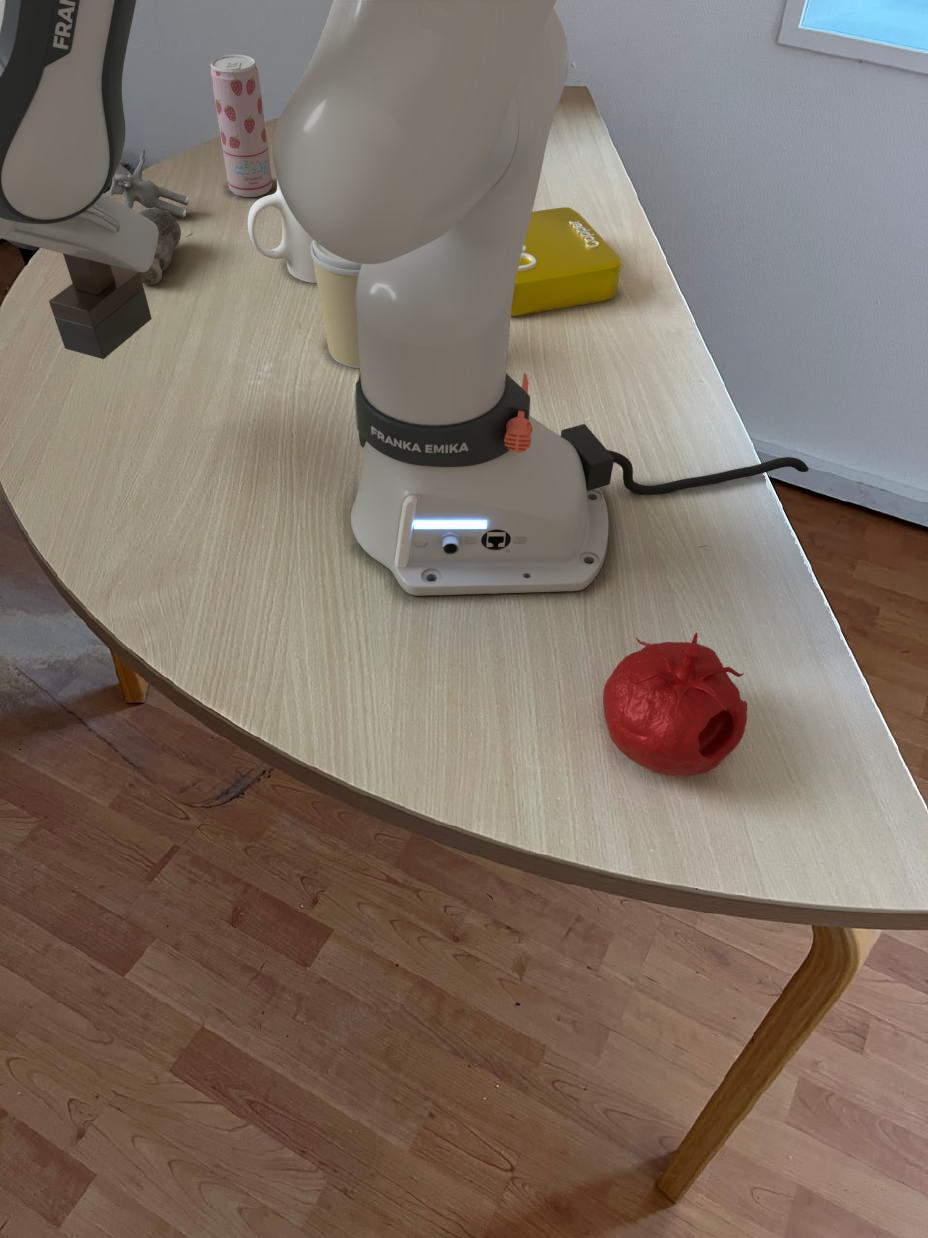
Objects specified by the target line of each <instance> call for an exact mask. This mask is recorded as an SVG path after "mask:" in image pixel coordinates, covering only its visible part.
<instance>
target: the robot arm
mask: <svg viewBox="0 0 928 1238" xmlns="http://www.w3.org/2000/svg"><path fill="white" fill-rule="evenodd" d="M556 2H557V0H332V4H331V7H330V9H329V12H328V15H327V18H326V21H325V24H324V27H323V30H322V32H321V35H320V38H319V40H318V43H317V46H316V47H315V50H314V53H313V55H312V57H311V59H310V61H309V63H308V65H307V67H306V69H305V72H304V74H303V75H302V77H301V78H300V81H299V83H298V84H297V85H296V87H295V89H294V91H293V93H292V95H291V96H290V98H289V99H288V101H287V103H286V104H285V106H284V107H283V109H282V111H281V113H280V114H279V117H278V120H277V122H276V126H275V129H274V135H273V141H272V142H273V143H272V157H273V166H274V167H273V168H274V172H275V177H276V181H277V180H278V184H279V187H280V190H281V192H282V195H283V197H284V199H285V201H286V203H287V205H288V207H289V209H290V211H291V212H292V214H293V215H294V217H295V219H296V220H297V221H298V223H299V224H300V225H301V226H302V228H303V229H304V230H305V231H306V232H307V233H308V234H309V235H310V236H311V237H312V238H313V239H314V240H315V241H316V242H317V243H318V244H320V245H321V246H322V247H324V248H325V249H326V250H328V251H329V252H331V253H333V254H335V255H337V256H338V257H341V258H343V259H346V260H348V261H352V262H355V263H361V264H362V266H361V269H360V272H359V276H358V281H357V287H356V313H357V329H358V344H359V360H360V369H359V375H358V379H357V381H356V383H355V391H354V411H355V423H356V430H357V432H358V439H359V441H358V442H359V445H360V447H361V461H360V462H361V464H360V473H359V479H358V486H357V490H356V495H355V497H354V501H353V504H352V507H351V511H350V512H351V513H350V525H351V530H352V533H353V535H354V537H355V539H356V541H357V543H358V544H359V546H360V547H361V548H362V549H363V551H365V552H366V553H367V555H369V556H370V557H371V558H373V559H374V560H376V561H377V562H378V563H380V564H382V565H383V566H384V567H386V568H387V569H388V570H389V571H390V572H391V573H392V574H393V577H394V578H395V580H396V581H397V583H398V585H399V586H400V587H401V589H402V590H403V591H404V592H406V593H407V594H409V595H411V596H417V597H419V596H421V597H422V596H423V597H425V596H456V595H457V596H458V595H459V596H460V595H484V594H485V595H486V594H487V595H488V594H490V595H491V594H519V593H520V594H521V593H522V594H525V593H553V592H555V593H556V592H558V593H559V592H577V591H583V590H584V589H586V588H587V587H588V586H589V585H590V584H592V582H594V580H595V579H596V577H597V576H598V574H600V571H601V569H602V568H603V565H604V562H605V559H606V554H607V549H608V541H609V511H608V508H607V503H606V500H605V497H604V495H603V493H602V491H601V489H600V488H603V487H606V486H609V485H610V484H611V480H612V473H613V468H614V464H617V465H618V466H619V467H620V468H621V470H622V483H623V484H624V487H625V488H626V489H627V490H628V491H630V492H632V493H634V494H637V495H640V496H654V495H655V496H656V495H664V494H669V493H673V492H678V491H682V490H687V489H692V488H700V487H707V486H712V485H716V484H722V483H725V482H729V481H735V480H739V479H743V478H751V477H754V476H758V475H762V474H765V473H768V472H771V471H775V470H778V469H782V468H793V469H795V470H796V471H798V472H800V473H807V472H809V467H808V465H807V464H806V463H805V462H804V461H803V460H801V459H800V458H797V457H793V456H783V457H778V458H774V459H771V460H768V461H765V462H761V463H758V464H754V465H750V466H744V467H740V468H735V469H730V470H725V471H721V472H717V473H712V474H706V475H701V476H693V477H688V478H687V477H686V478H682V479H677V480H673V481H669V482H668V481H667V482H664V483H660V484H652V485H649V484H648V485H647V484H640V483H638V482H636V481H635V480H634V469H633V464H632V462H631V460H630V459H628V457H627V456H626V455H623V454H621V453H619V452H617V451H614V450H611V449H607V448H606V447H605V446H604V445H603V444H602V442H601V441H600V440H599V439H598V438H597V436H596V435H595V434H594V433H593V431H592V430H591V429H590V428H589V427H588V426H587V425H586V424H585V423H582V424H578V425H575V426H571V427H568V428H564V429H561V431H560V435H559V434H558V433H557V432H555V431H553V430H552V429H551V428H548V426H546V425H544V424H543V423H542V422H540V421H539V420H537V419H535V418H534V417H532V416H531V415H530V413H531V396H530V394H529V393H528V392H529V379H528V375H527V373H525V372H524V373H523V374H522V375H523V377H522V384H521V386H520V384H518V383H517V381H515V380H514V379H513V377H511V376H510V375H509V374H508V373H507V365H508V354H509V341H510V329H511V319H512V318H511V317H512V316H511V307H512V299H513V292H514V286H515V280H516V275H517V271H518V267H519V262H520V258H521V254H522V250H523V246H524V242H525V239H526V235H527V231H528V227H529V223H530V219H531V214H532V212H533V209H534V206H535V201H536V197H537V192H538V187H539V184H540V179H541V174H542V169H543V164H544V159H545V153H546V149H547V144H548V140H549V135H550V131H551V128H552V125H553V121H554V118H555V115H556V112H557V109H558V107H559V103H560V100H561V98H562V95H563V92H564V90H565V86H566V83H567V78H568V72H569V47H568V43H567V38H566V33H565V30H564V28H563V27H564V26H563V25H562V22H561V20H560V18H559V16H558V14H557V12H556V10H555V9H554V7H555V5H556ZM136 4H137V0H0V240H1V239H2V240H7V241H11V242H16V243H19V244H23V245H27V246H32V247H37V248H39V249H43V250H48V251H51V252H56V253H60V254H63V253H64V254H68V255H72V256H76V257H80V258H84V259H88V260H92V261H96V262H100V263H104V264H109V265H113V266H117V267H121V268H125V269H129V270H133V271H137V272H146V271H148V269H149V268H150V266H151V264H152V261H153V258H154V255H155V252H156V247H157V242H158V234H159V231H158V227H157V226H156V224H155V223H154V222H152V221H151V220H149V219H148V218H146V217H144V216H143V215H141V214H139V211H136V210H134V209H133V208H132V209H131V208H129V207H127V206H126V205H125V203H123V202H121V201H118V200H117V199H115V198H113V197H112V196H111V195H108V194H105V192H106V190H107V189H108V188H109V186H110V184H111V183H112V179H113V177H114V175H115V172H116V170H117V168H118V165H119V163H121V159H122V156H123V151H124V148H125V143H126V119H125V111H124V103H123V72H124V65H125V59H126V53H127V49H128V43H129V39H130V33H131V29H132V23H133V19H134V14H135V9H136Z"/></svg>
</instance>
